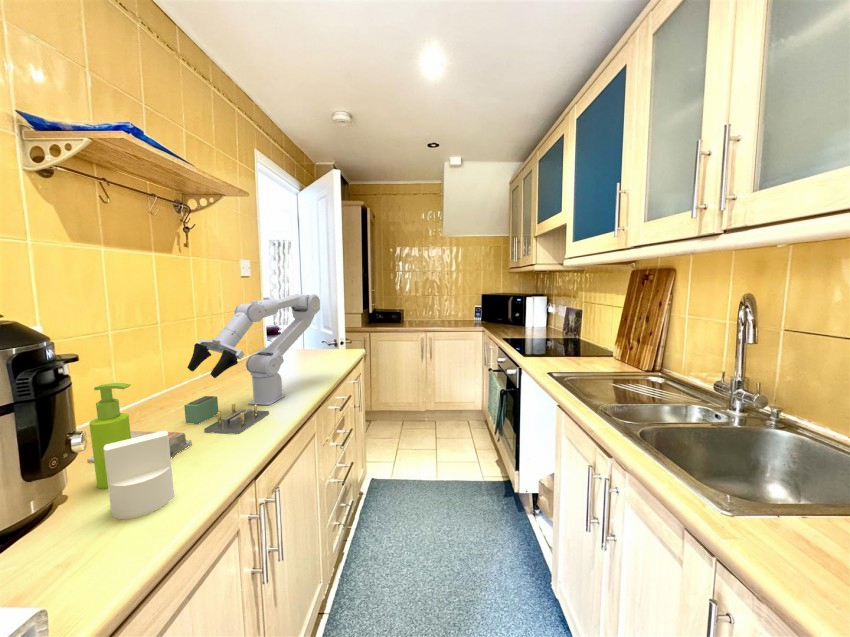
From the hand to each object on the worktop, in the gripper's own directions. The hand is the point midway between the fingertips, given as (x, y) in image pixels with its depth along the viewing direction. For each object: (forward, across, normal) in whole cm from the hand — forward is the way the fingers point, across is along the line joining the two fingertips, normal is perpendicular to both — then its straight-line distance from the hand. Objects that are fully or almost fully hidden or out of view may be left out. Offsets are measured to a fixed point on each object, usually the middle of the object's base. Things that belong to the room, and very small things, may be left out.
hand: (201, 372), depth 99 cm
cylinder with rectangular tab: (+31, +21, -14) cm, 40 cm away
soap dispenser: (+29, +9, -9) cm, 32 cm away
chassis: (+7, +11, +11) cm, 17 cm away
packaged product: (+23, +2, 0) cm, 23 cm away
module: (+8, -2, +14) cm, 16 cm away
